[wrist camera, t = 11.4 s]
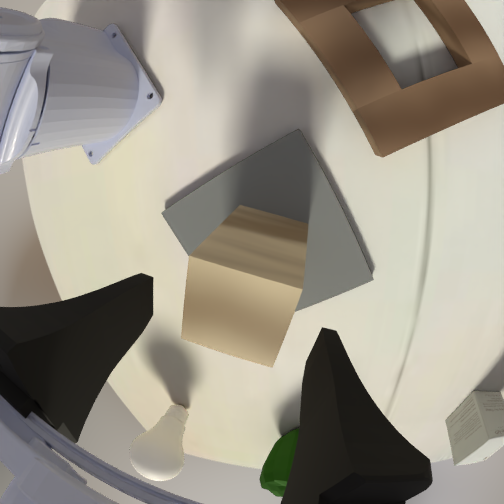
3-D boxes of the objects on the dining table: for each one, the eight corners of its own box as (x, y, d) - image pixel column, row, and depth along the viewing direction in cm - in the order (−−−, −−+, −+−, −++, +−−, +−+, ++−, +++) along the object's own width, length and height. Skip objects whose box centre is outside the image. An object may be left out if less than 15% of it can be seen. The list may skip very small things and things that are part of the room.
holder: (275, 3, 12) (270, -10, 11) (413, -39, 8) (420, -50, 6) (375, 154, 15) (382, 157, 14) (502, 98, 11) (517, 97, 9)
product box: (501, 390, 20) (517, 433, 14) (472, 419, 23) (484, 461, 16) (473, 389, 21) (489, 439, 14) (443, 420, 24) (453, 467, 17)
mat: (165, 210, 20) (161, 212, 19) (299, 129, 16) (298, 128, 15) (242, 326, 23) (240, 331, 22) (372, 275, 19) (373, 279, 18)
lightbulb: (154, 385, 29) (111, 455, 20) (201, 398, 28) (165, 477, 18) (165, 412, 32) (131, 476, 22) (207, 424, 31) (178, 494, 21)
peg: (240, 204, 18) (189, 255, 11) (308, 223, 18) (302, 289, 10) (227, 265, 20) (181, 338, 13) (289, 283, 19) (272, 367, 12)
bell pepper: (310, 456, 30) (301, 517, 21) (259, 437, 30) (241, 504, 21) (353, 433, 26) (351, 506, 17) (298, 412, 26) (285, 494, 17)
